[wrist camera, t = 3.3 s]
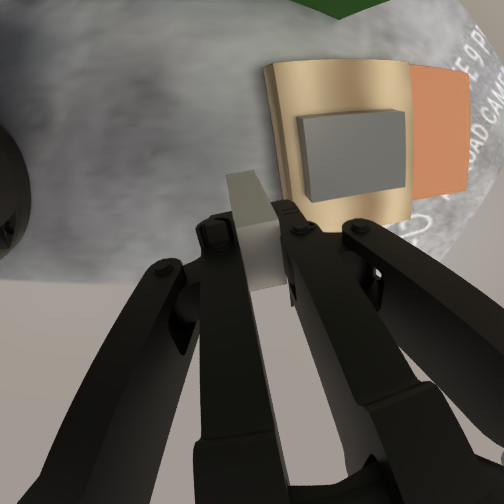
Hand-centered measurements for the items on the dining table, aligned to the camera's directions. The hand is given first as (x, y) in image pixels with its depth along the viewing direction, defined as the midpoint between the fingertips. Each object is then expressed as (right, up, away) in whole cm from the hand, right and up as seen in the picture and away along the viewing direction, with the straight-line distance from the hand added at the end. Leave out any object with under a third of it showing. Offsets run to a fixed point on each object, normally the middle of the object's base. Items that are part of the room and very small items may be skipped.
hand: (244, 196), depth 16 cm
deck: (+8, +7, +8) cm, 13 cm away
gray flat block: (+8, +4, +4) cm, 10 cm away
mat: (+19, +9, +8) cm, 23 cm away
